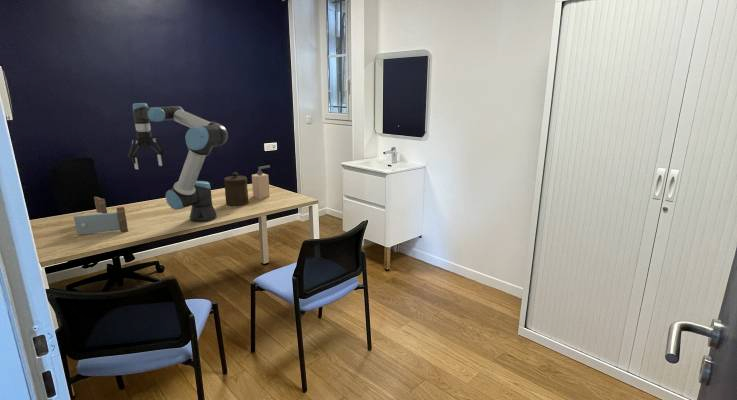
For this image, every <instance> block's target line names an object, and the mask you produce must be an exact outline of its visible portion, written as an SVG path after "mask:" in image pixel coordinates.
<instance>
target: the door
mask: <svg viewBox="0 0 737 400" xmlns="http://www.w3.org/2000/svg"><path fill="white" fill-rule="evenodd" d="M73 220H74V221H73V222H74V225H75V226H74V227H75V231H76V235H85V234H96V233H98V234H99V233H106V232H116V231H120V226H119V220H118V214H117V211H116V212H107V213H104V214H93V215H86V214H83V215H75V216H73Z"/></svg>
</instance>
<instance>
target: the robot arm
mask: <svg viewBox="0 0 737 400" xmlns="http://www.w3.org/2000/svg"><path fill="white" fill-rule="evenodd" d="M132 114H133V119H134V120H133V121H134V126H135V131H136V132H135V133H136V138H137V140H135V139H133V140H131V145H130V148H129V151H128V153H127V157H128V158H130V159H131V162H132V164H133V165H134V169H135V170H139V163H138V158H137V155H138V154H139V153H140V151H141V150H142V148H152V149H153V150H154V151H155V152H156V153H157V162H158V166H159V167H162V166H163V160H164V159H163V158H164V157H163V155H164V154H165V153H166V151H165V149H164V148H163V146H162V145H161V143H160V142H159V139H158V138H157V137H154V138H152V137H153V136H152V135H153V134H152V131H151V130H152V129H151V122H155V123H156V122H163V121H174V122H176V123H179V124H180V125H184V126H186V127H188V128H189V129H188V130H187V131H186V133H185V139H184V140H185V144H186V146H187V149H188V153H187V156H186V158H185V161H184V164H183V167H182V170H181V173H180V175H179V179H178V181H176V182H175V183H174V184H173V186H172V188H171V189H168V190H167V191H166V193H165V200H166V203H167V204H168V206H169V207H170V208H171V209H173V210H176V211H177V210H183V209H185V208H188V207H191V210H190V212H189V220H190V221H191V222H193V223H204V222H210V221H213V220H216V219H217V216H218V215H217V212H216V210H215V208H214V206H213V199H212V188H211V183H210V182H208V181H207V180H206V181H205V180H198V177H199V175H200V172H201V170H202V167H203V164H204V162H205V159H206V157H207V156H209V155H210V154H211V152H212V149H213V148H216V147H220V146H223V145H224V144H225V143H226V142H227V140H228V138H229V135H228V131H227V128H226V127H225V126H224V125H222V124H220V123H218V122H217V121H208V120H207V119H204V118H201V117H199V116H197V115H194V114H193V113H191V112H188V111H185V110H184V108H183V107H182V106H178V105H173V106H172V105H171V106H170V105H169V106H154V107H153V106H151V107H149V105H148V103H145V102H140V103H139V102H138V103H137V102H136V103H135V102H134V103H133V104H132ZM153 142H154V143H155V145H156V146H155V145H154V144H153ZM136 145H137V147H136Z"/></svg>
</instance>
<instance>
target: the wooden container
mask: <svg viewBox="0 0 737 400" xmlns="http://www.w3.org/2000/svg"><path fill="white" fill-rule="evenodd" d="M223 181H224V195H225V204H226V206H228V207H243V206H246V205H248V204H249V203H250V202H249V190H248V189H249V188H248V177H247V176H245V175H239V173H238V172H237V171H234V172H232V175H231V176H226V177H224V179H223Z"/></svg>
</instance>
